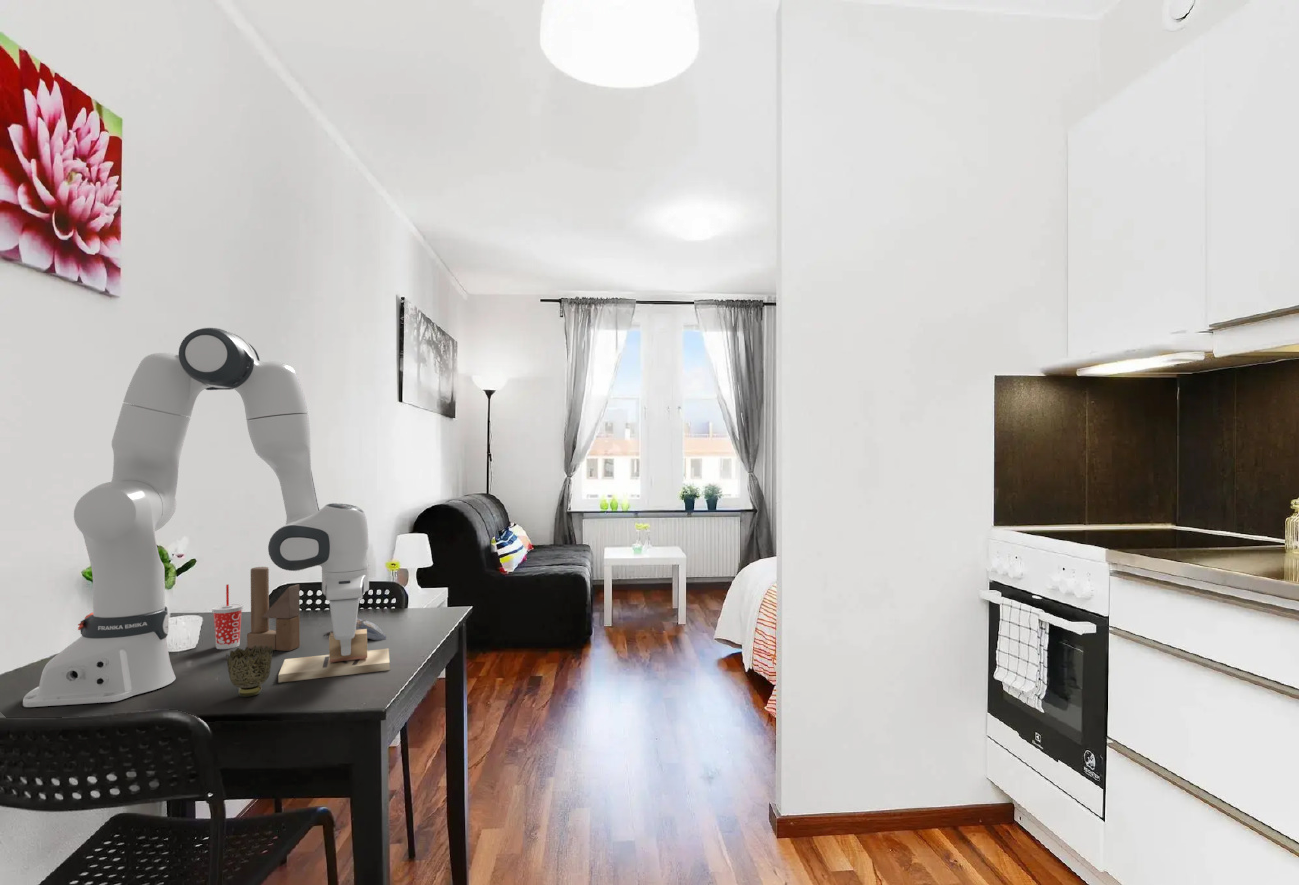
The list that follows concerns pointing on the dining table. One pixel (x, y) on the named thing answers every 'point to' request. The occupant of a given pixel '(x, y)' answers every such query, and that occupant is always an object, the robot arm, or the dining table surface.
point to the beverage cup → (227, 624)
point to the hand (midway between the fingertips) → (346, 651)
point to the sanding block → (356, 647)
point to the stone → (370, 629)
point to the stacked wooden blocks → (273, 615)
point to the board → (332, 666)
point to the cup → (249, 669)
